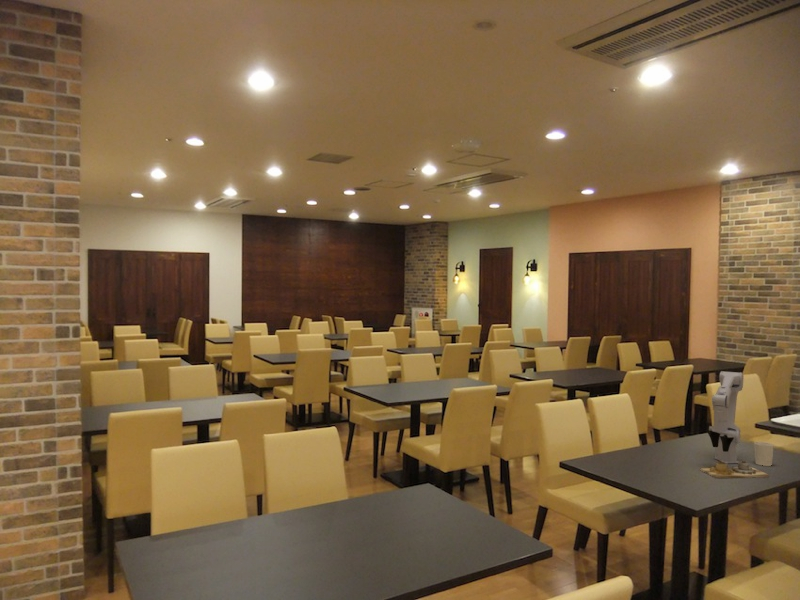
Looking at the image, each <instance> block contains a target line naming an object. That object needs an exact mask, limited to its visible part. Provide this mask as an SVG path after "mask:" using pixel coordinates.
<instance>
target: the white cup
mask: <svg viewBox="0 0 800 600" xmlns="http://www.w3.org/2000/svg"><path fill="white" fill-rule="evenodd" d="M753 446H754V448H753V449H754V459H755V461H754V462H755V464H756V465H759V466H762V465H763V466H762V467H772V466H773V458H774V457H773V456H774V444H773V443H772V442H766V441H754V442H753ZM771 465H772V466H771Z"/></svg>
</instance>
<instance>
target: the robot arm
mask: <svg viewBox="0 0 800 600" xmlns="http://www.w3.org/2000/svg"><path fill="white" fill-rule="evenodd" d="M718 376H719V383H720V386H719V387H718V388H717V391H716V394H713V395H712V397H711V404H712V410H713V425H712V426H711V425H709V426H708V431H707V434H708V436H709V438H710V440H711V445H712V448H715V454H714V455H715V457H713V459H715V460H716V461H718V462H725V463H727V464H738V462H739V460H737V455H738V454H737V448H738V446H737V445H738V444H740V442H741V429H740V426H738V425H737V424H735V422H736V420H735V419H736V410H737V409H736V408H737V401H738V394H739V392H741V391H743V388H744V373H743V372H741V371H740V372H734V371H723V370H721V371H720V372H719V375H718Z"/></svg>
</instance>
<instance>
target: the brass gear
mask: <svg viewBox="0 0 800 600" xmlns="http://www.w3.org/2000/svg"><path fill="white" fill-rule="evenodd" d="M709 468H710V471H711V472H714V473H716V474H723V475H732V474H734V471H733V470H732V469H727V468H728V463H725V462H721V461H716V463H715V466H711V467H709Z"/></svg>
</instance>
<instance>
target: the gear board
mask: <svg viewBox="0 0 800 600" xmlns="http://www.w3.org/2000/svg"><path fill="white" fill-rule="evenodd" d="M738 461H739V460H738ZM710 468H711V467H701V468H700V470H701V471H700V470H699V471H700V472H702V471H703V473H704V472H705V473H704V474H706V473H707V475H708V474H709V475H708V476H710V475H711V476H710V477H712V476H713V477H712V478H714V477H715V478H714V479H716V478H719V479H745V478H746V479H747V478H748V479H749V478H750V479H751V478H752V477H756V478H770V474H768V473H766V472H764V471H761V470H759V469H757V468H754V467H752V466H750V463H749V462H748V461H746V459H741V461H739V462H738V463H737V465H736V466H731V467H727V469H732V470H733V471H734V474H732V475H723V474H716V473H714V472H711V471H710ZM752 479H753V478H752Z"/></svg>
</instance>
